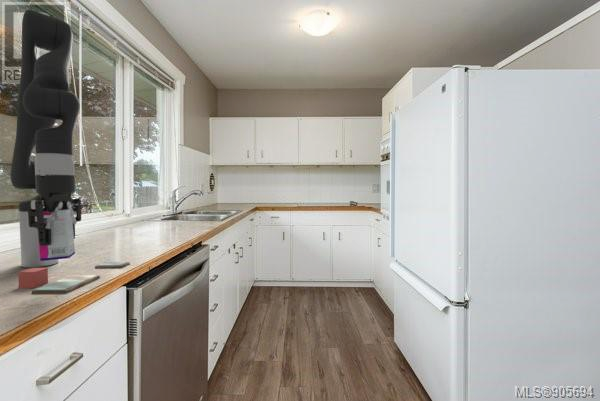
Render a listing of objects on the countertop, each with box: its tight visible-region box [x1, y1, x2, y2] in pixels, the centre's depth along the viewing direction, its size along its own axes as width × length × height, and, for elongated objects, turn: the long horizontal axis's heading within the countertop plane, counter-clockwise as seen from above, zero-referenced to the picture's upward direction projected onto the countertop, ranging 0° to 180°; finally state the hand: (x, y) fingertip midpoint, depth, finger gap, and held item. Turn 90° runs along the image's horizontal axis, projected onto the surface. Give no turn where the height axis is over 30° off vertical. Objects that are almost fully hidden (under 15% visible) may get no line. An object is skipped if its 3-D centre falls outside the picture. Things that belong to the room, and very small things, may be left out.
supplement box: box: [37, 209, 76, 261], centre depth 77 cm, size 6×6×12 cm
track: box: [31, 261, 131, 294], centre depth 88 cm, size 28×8×1 cm, turn 0°
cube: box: [17, 267, 49, 289], centre depth 80 cm, size 4×4×4 cm
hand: (58, 242), depth 77 cm, fingers closed on supplement box, 7 cm apart
